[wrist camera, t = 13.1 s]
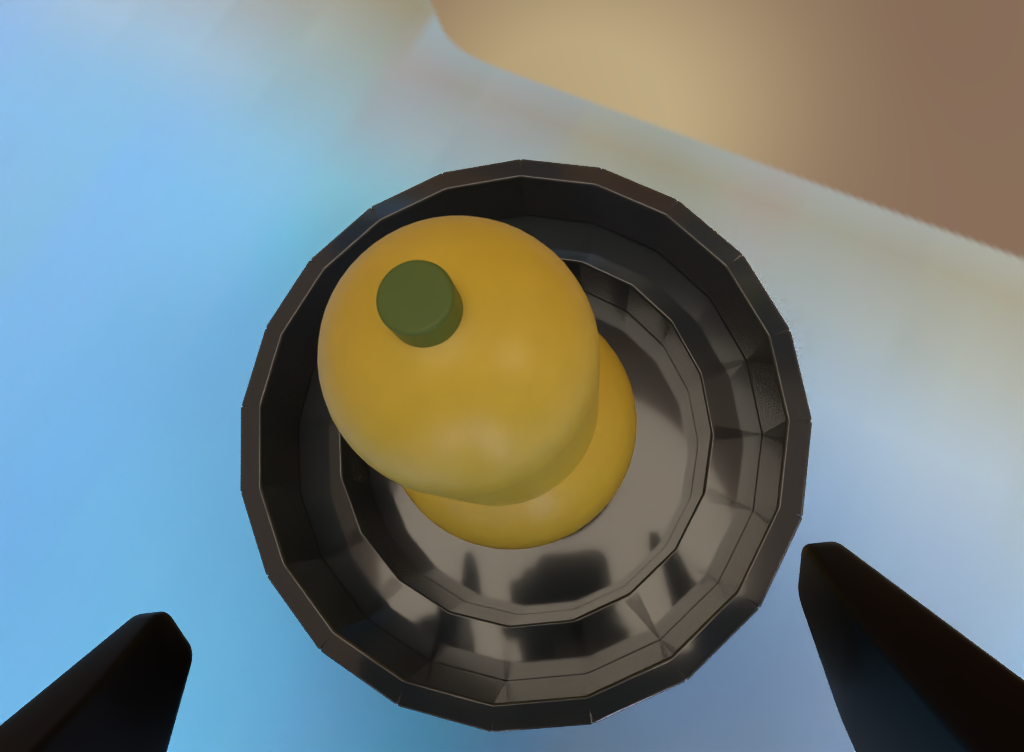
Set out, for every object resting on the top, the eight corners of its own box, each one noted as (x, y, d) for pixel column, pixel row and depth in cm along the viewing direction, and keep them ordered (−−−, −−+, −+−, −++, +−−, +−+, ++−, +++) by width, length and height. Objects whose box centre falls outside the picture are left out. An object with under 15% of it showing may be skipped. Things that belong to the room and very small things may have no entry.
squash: (601, 571, 19) (617, 658, 6) (404, 513, 20) (83, 487, 7) (648, 370, 20) (740, 105, 8) (461, 328, 21) (269, 38, 9)
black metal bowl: (803, 655, 18) (880, 702, 13) (325, 697, 19) (237, 753, 15) (708, 210, 22) (741, 119, 17) (314, 273, 23) (241, 206, 18)
